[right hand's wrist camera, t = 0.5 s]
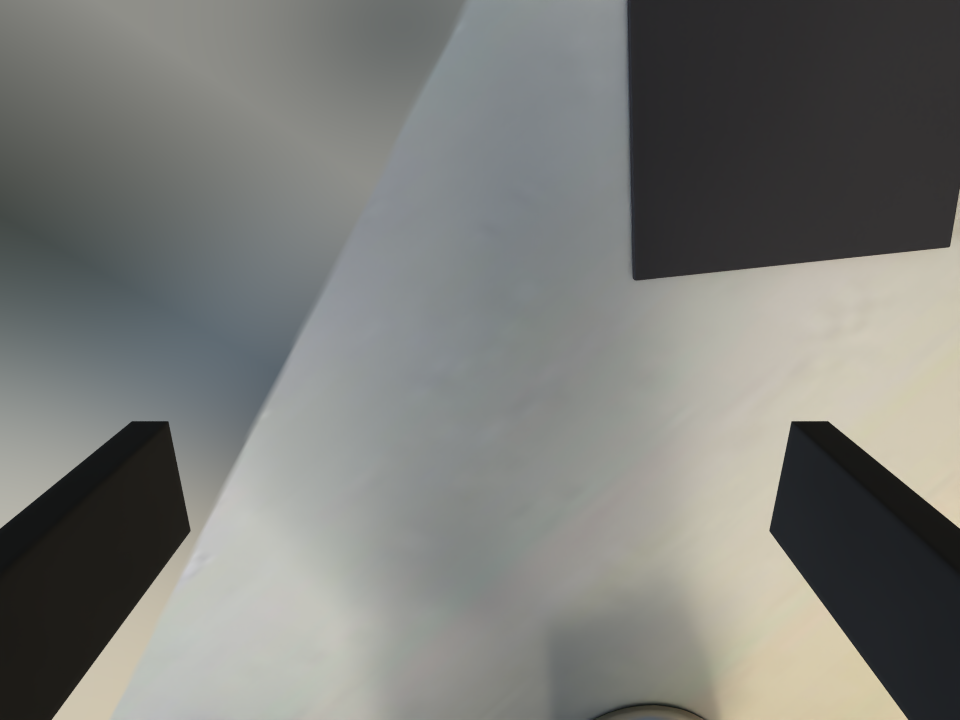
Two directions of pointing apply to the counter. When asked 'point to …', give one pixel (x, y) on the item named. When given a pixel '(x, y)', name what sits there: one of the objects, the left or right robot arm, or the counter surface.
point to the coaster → (791, 131)
